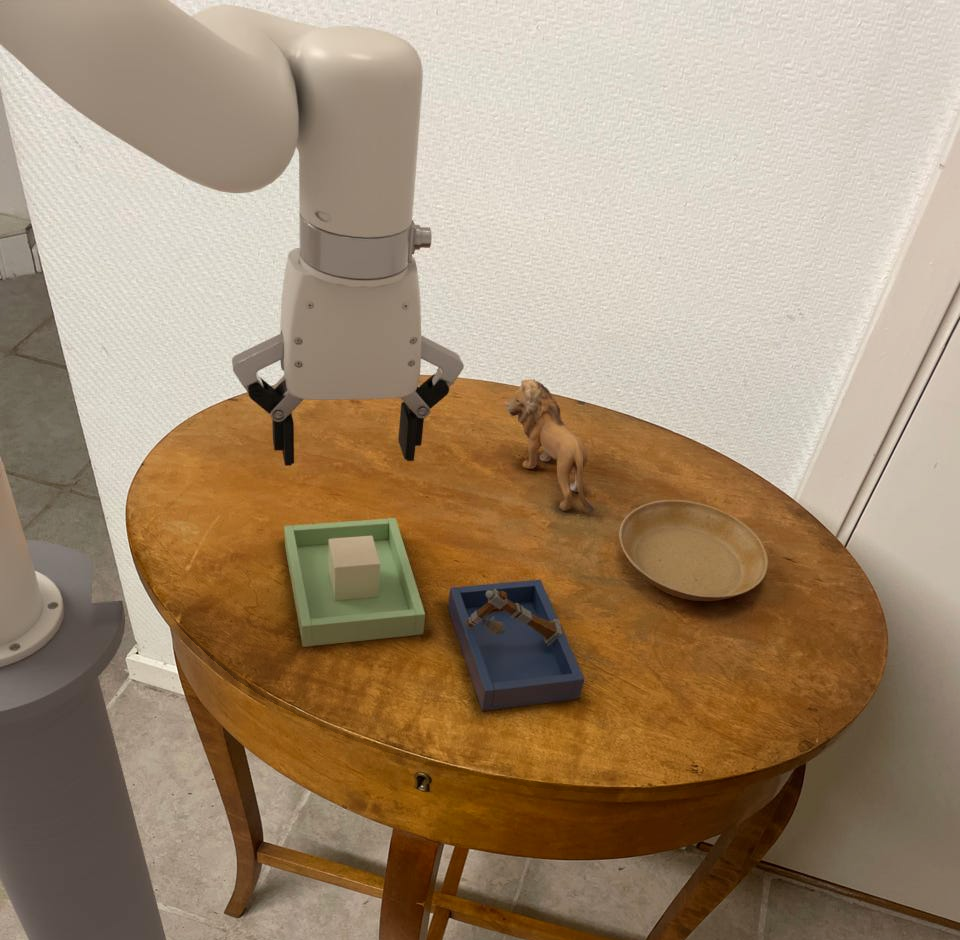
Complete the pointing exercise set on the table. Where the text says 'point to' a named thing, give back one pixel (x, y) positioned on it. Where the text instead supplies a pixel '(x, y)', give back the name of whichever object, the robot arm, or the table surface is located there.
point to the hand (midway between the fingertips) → (347, 453)
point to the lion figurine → (550, 437)
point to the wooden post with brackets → (521, 614)
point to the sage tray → (356, 617)
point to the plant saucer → (693, 550)
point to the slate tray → (514, 649)
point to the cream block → (354, 568)
